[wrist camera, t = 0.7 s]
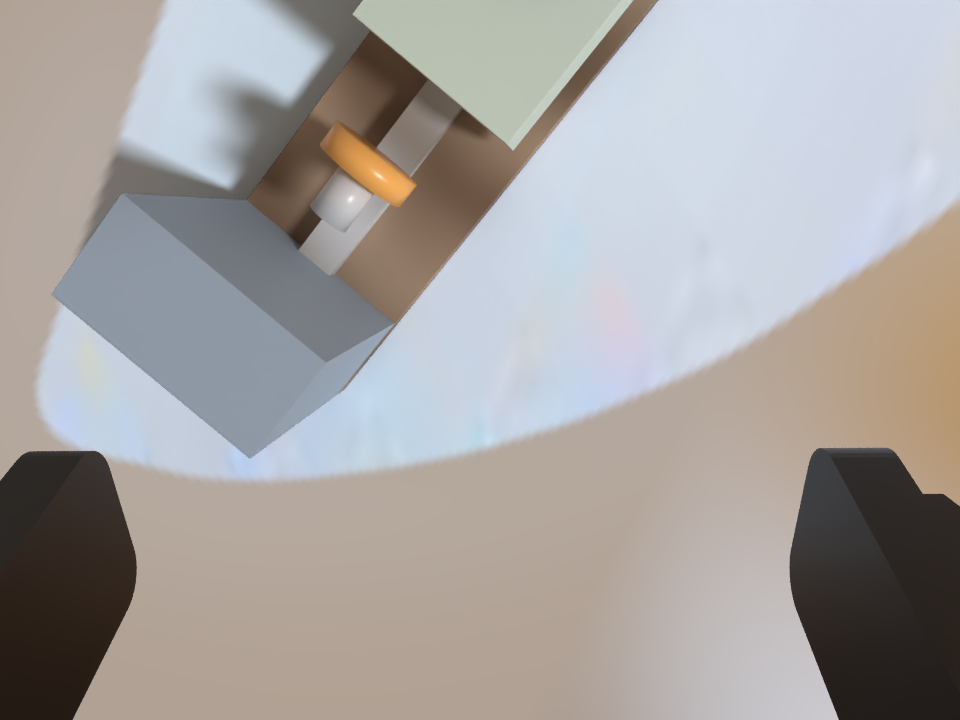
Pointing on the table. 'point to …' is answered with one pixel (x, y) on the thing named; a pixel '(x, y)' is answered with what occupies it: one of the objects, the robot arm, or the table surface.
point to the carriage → (495, 50)
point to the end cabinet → (221, 312)
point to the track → (408, 170)
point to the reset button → (357, 178)
